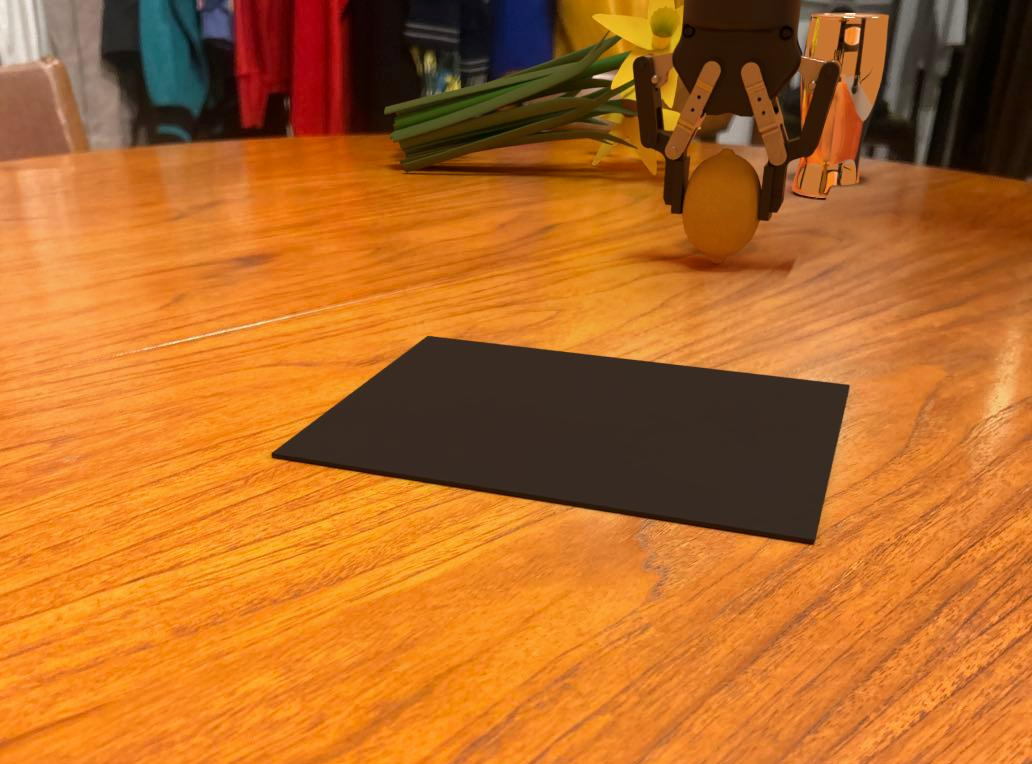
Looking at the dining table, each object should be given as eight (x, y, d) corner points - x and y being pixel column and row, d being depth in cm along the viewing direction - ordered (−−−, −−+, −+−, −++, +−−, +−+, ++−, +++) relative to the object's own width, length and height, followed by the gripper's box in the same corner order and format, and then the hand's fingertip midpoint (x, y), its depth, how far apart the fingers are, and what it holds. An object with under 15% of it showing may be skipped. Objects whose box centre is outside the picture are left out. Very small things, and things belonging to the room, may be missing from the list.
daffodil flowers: (428, 158, 124) (739, 73, 114) (422, 252, 116) (755, 170, 106) (367, 29, 110) (714, -79, 100) (356, 127, 103) (730, 20, 93)
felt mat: (849, 388, 57) (849, 384, 57) (814, 544, 42) (814, 539, 42) (427, 338, 64) (427, 335, 64) (271, 457, 50) (271, 452, 49)
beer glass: (868, 201, 98) (898, 17, 91) (789, 199, 99) (812, 16, 92) (858, 186, 104) (885, 12, 97) (783, 184, 105) (804, 12, 98)
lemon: (728, 251, 82) (739, 140, 79) (770, 269, 78) (784, 152, 74) (664, 258, 81) (672, 144, 77) (703, 276, 76) (714, 157, 72)
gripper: (623, -54, 69) (610, 219, 77) (860, -55, 64) (820, 235, 72) (650, -54, 75) (635, 198, 83) (868, -55, 70) (830, 212, 79)
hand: (721, 214), depth 78 cm, fingers closed on lemon, 5 cm apart
